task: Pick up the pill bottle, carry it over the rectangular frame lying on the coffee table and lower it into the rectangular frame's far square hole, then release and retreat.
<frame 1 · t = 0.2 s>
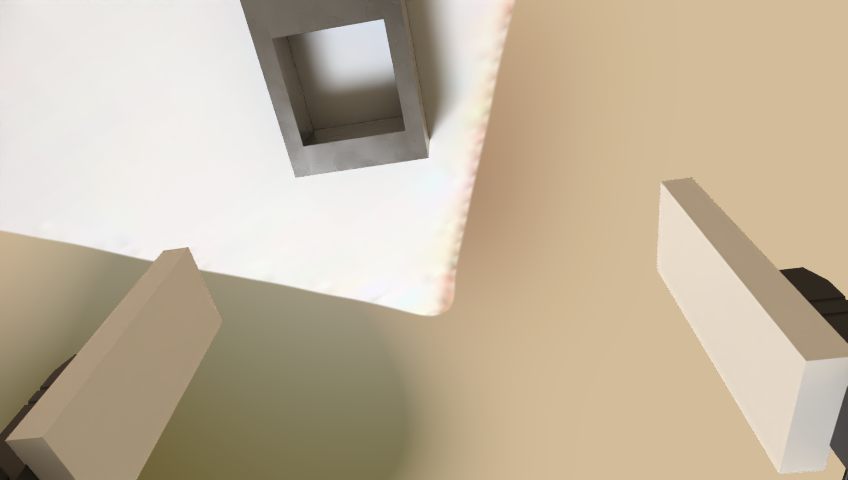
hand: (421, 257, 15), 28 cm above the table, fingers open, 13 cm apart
rectangular frame: (331, 0, 38), on the table
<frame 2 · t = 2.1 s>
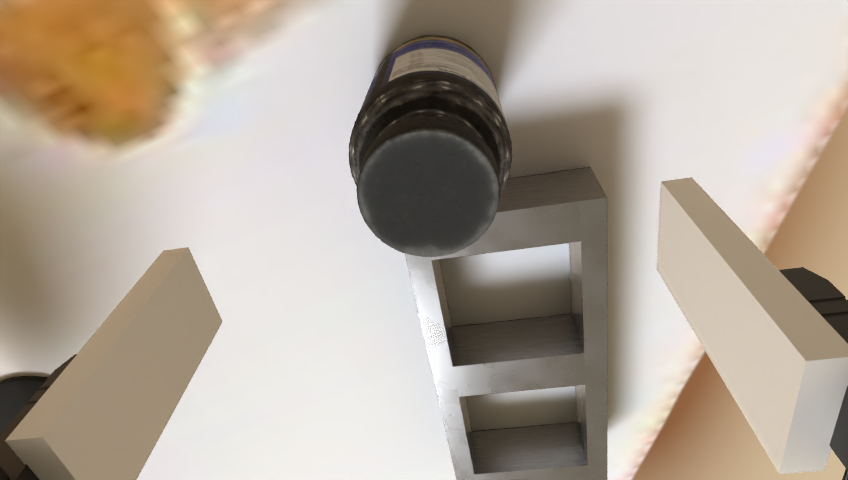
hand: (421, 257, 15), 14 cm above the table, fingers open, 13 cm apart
pill bottle: (433, 95, 27), on the table
rectangular frame: (513, 335, 35), on the table
wine glass: (58, 423, 41), on the table
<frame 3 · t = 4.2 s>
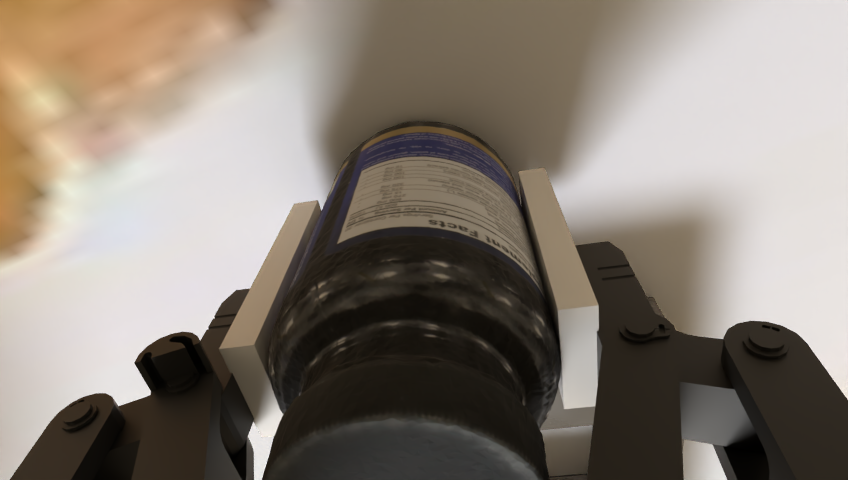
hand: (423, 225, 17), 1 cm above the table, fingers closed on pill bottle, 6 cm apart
pill bottle: (425, 201, 18), on the table, touching gripper
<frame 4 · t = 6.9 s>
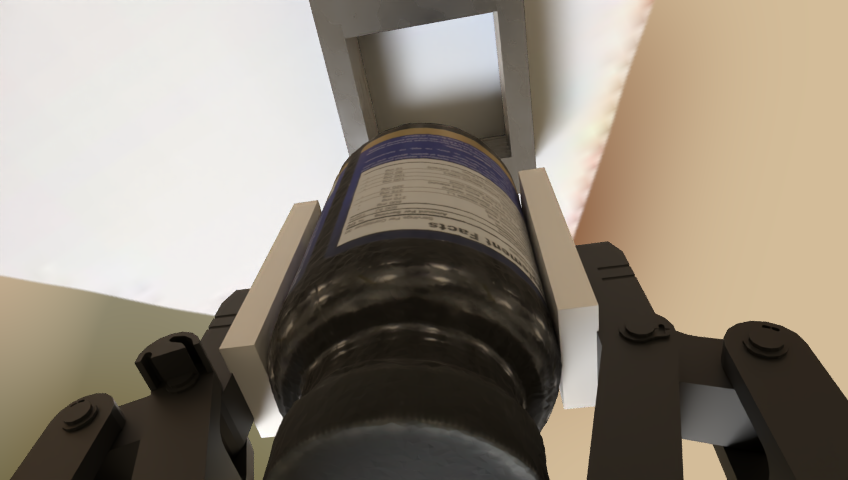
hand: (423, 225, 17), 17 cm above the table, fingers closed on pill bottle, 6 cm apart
pill bottle: (425, 203, 18), point 15 cm above the table, touching gripper
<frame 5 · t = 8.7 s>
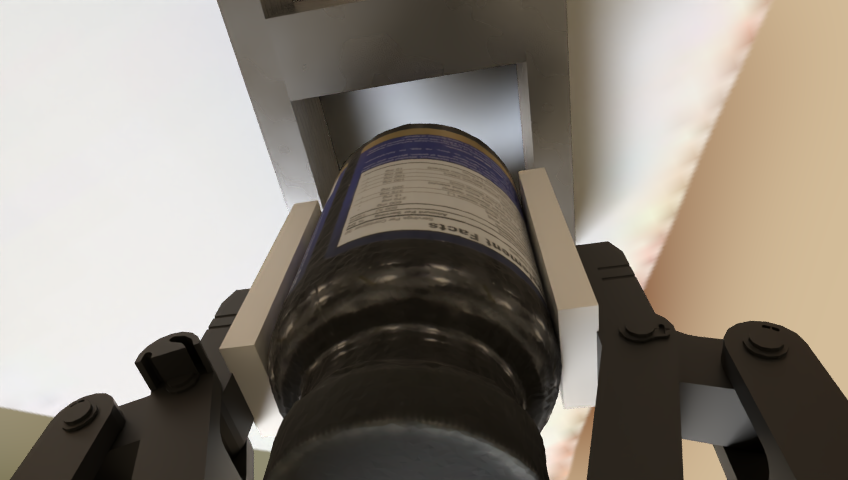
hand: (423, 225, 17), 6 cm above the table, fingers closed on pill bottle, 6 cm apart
pill bottle: (425, 203, 18), point 4 cm above the table, touching gripper
rectangular frame: (404, 20, 19), on the table
when the fingers open (4 cm above the table, at t = 9.9 s): pill bottle drops 2 cm, resting in rectangular frame.
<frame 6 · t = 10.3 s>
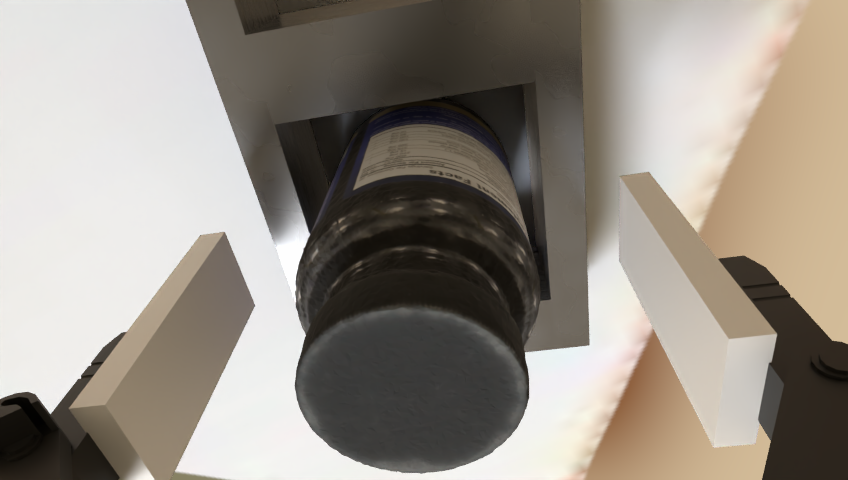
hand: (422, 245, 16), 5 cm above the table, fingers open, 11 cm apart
pill bottle: (425, 171, 20), resting in rectangular frame
rectangular frame: (401, 34, 18), on the table
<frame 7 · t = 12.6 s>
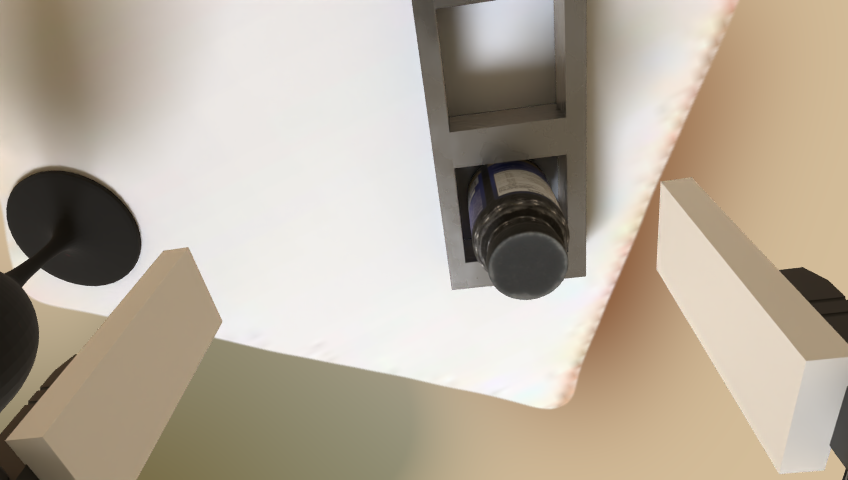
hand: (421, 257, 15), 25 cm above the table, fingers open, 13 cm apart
pill bottle: (506, 190, 41), resting in rectangular frame
rectangular frame: (503, 127, 39), on the table
wine glass: (77, 229, 44), on the table
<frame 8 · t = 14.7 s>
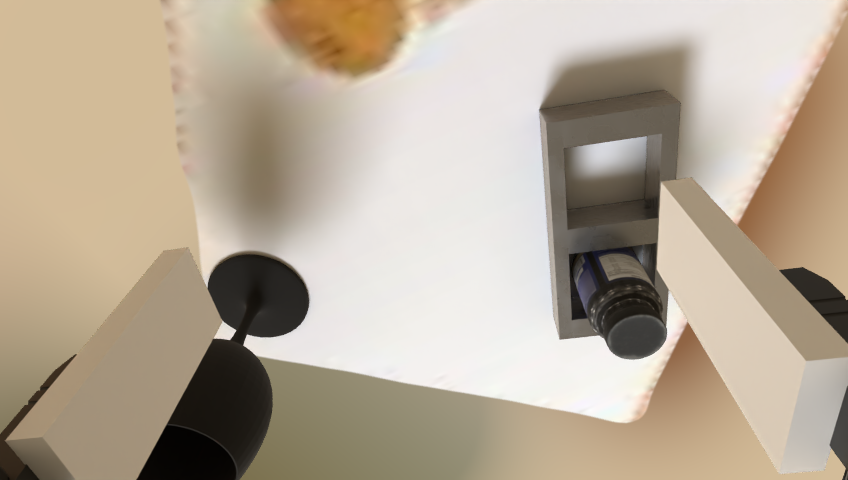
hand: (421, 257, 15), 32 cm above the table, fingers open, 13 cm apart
pill bottle: (601, 260, 53), resting in rectangular frame
rectangular frame: (602, 217, 50), on the table
wine glass: (259, 295, 56), on the table
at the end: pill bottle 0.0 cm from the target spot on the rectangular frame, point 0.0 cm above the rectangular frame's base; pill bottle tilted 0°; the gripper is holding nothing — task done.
